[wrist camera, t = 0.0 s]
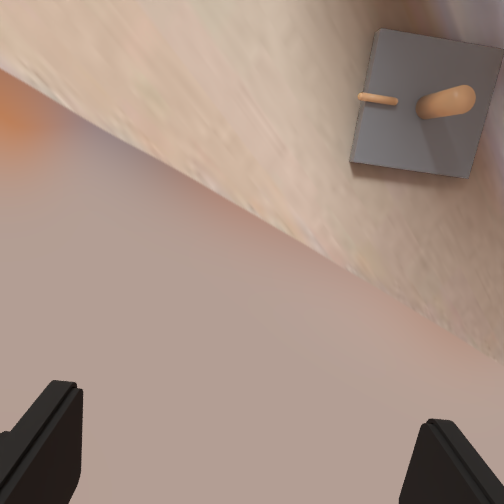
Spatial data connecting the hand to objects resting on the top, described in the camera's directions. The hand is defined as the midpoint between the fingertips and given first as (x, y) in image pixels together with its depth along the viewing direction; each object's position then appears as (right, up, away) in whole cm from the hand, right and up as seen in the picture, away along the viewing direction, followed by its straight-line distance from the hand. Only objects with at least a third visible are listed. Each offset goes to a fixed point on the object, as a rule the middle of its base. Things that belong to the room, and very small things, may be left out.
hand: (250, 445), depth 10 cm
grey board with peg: (+17, +20, +28) cm, 38 cm away
